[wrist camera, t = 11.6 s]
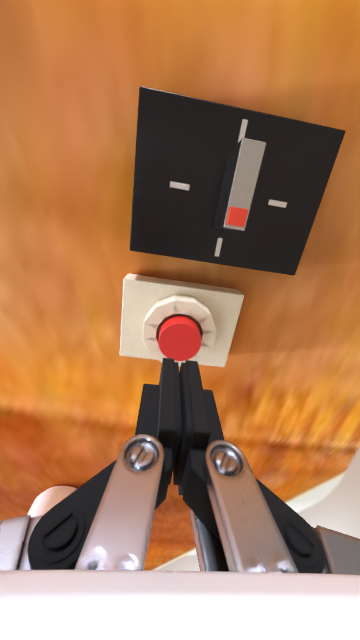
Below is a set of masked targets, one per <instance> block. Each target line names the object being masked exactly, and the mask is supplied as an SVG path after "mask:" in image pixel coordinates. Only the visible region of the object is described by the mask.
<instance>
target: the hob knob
mask: <svg viewBox="0 0 360 640" xmlns="http://www.w3.org/2000/svg"><path fill="white" fill-rule="evenodd" d="M265 146H266V142H262V141H257V140H252V139H247V138H242V139H241V140H240V141H239V143H238V144H237V145H236V146H235V148H234V149H233V150H232V151H231V153H230V154H229V155H228V157H227V161H226V166H225V172H224V177H223V182H222V187H221V192H220V197H219V202H218V207H217V212H216V217H215V223H214V227H216V228H222V229H228V230H238V231H244V230H245V227H246V223H247V219H248V215H249V211H250V207H251V203H252V199H253V195H254V191H255V187H256V183H257V179H258V174H259V170H260V166H261V162H262V158H263V154H264V150H265Z"/></svg>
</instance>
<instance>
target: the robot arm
mask: <svg viewBox="0 0 360 640" xmlns="http://www.w3.org/2000/svg"><path fill="white" fill-rule="evenodd" d="M172 473H173V481H174V485H178V490H179V495H183V500H184V501H185V503H186V504H187V505H188V506H189V507H190V508H189V509H190V519H191V524H192V529H193V535H194V540H195V546H196V551H197V556H198V562H199V567H200V571H143V569H144V564H145V558H146V553H147V548H148V542H149V537H150V531H151V526H152V520H153V515H154V511H155V509H156V508H157V507H158V506H159V505H160V504H161V503H162V502H163V501H164V500H165V498H166V494H167V489H168V484H169V485H170V482H171V477H172ZM0 640H360V539H358V538H355V537H352V536H349V535H346V534H343V533H340V532H337V531H333V530H330V529H327V528H324V527H321V526H317V527H316V528H313V527H311V526H310V525H309V524H308V523H307V522H306V521H305V520H304V519H303V518H302V517H301V516H299V515H298V514H297V513H296V512H295V511H294V510H293V509H291V508H290V507H289V506H288V505H287V504H286V503H284V502H283V501H282V500H281V499H280V498H279V497H277V496H276V495H275V494H274V493H273V492H272V491H270V490H269V489H268V488H267V487H266V486H265V485H263V484H262V483H261V482H260V481H259V480H258V479H256V478H255V476H254V474H253V472H252V470H251V467H250V465H249V463H248V461H247V459H246V457H245V455H244V454H243V452H242V451H241V450H240V449H239V448H238V447H237V446H236V445H235V444H233V443H231V442H229V441H226V440H224V437H223V432H222V428H221V424H220V420H219V416H218V412H217V408H216V404H215V399H214V395H213V392H212V391H211V390H204V389H203V387H202V382H201V377H200V371H199V366H198V362H197V361H191V360H186V361H185V363H181V367H180V372H179V365H178V362H174V359H173V358H163V361H162V367H161V374H160V381H159V385H152V384H144V385H143V391H142V397H141V403H140V409H139V415H138V421H137V427H136V433H135V436H133V437H131V438H129V439H128V440H127V441H126V442H125V443H124V444H123V446H122V448H121V450H120V452H119V455H118V458H117V460H115V461H114V462H113V463H111V464H110V465H109V466H107V467H106V468H105V469H103V470H102V471H101V472H99V473H98V474H97V475H95V476H94V477H93V478H91V479H90V480H89V481H87V482H86V483H85V484H83V485H82V486H80V487H79V488H78V489H76V490H75V491H74V492H72V493H71V494H70V495H68V496H67V497H66V498H64V499H63V500H62V501H60V502H59V503H58V504H56V505H55V506H54V507H52V508H51V509H50V510H49V511H48V512H46V513H45V514H44V515H41V516H36V517H32V518H31V516H30V515H25V516H21V517H16V518H11V519H7V520H2V521H0Z"/></svg>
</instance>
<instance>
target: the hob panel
mask: <svg viewBox="0 0 360 640" xmlns="http://www.w3.org/2000/svg"><path fill="white" fill-rule="evenodd" d="M344 134H345V131H344V130H339V129H335V128H330V127H326V126H321V125H316V124H312V123H307V122H303V121H298V120H293V119H289V118H284V117H279V116H275V115H270V114H266V113H261V112H256V111H252V110H247V109H243V108H238V107H233V106H229V105H224V104H220V103H215V102H210V101H206V100H201V99H197V98H192V97H187V96H183V95H178V94H174V93H169V92H164V91H160V90H155V89H150V88H146V87H141V86H140V89H139V105H138V122H137V138H136V154H135V171H134V187H133V203H132V220H131V236H130V250H131V251H137V252H144V253H150V254H157V255H163V256H170V257H177V258H183V259H190V260H196V261H203V262H209V263H216V264H222V265H229V266H235V267H242V268H249V269H255V270H262V271H268V272H275V273H281V274H288V275H295V273H296V270H297V267H298V264H299V261H300V259H301V256H302V253H303V250H304V247H305V244H306V242H307V239H308V236H309V233H310V230H311V227H312V225H313V222H314V219H315V216H316V213H317V210H318V208H319V205H320V202H321V199H322V196H323V193H324V191H325V188H326V185H327V182H328V179H329V176H330V174H331V171H332V168H333V165H334V162H335V159H336V157H337V154H338V151H339V148H340V145H341V142H342V140H343V137H344ZM242 138H247V139H252V140H257V141H262V142H266V146H265V150H264V154H263V158H262V162H261V166H260V170H259V174H258V179H257V183H256V187H255V191H254V195H253V199H252V203H251V207H250V211H249V215H248V219H247V223H246V227H245V230H244V231H238V230H228V229H222V228H216V227H214V223H215V217H216V212H217V207H218V202H219V197H220V192H221V187H222V182H223V177H224V172H225V166H226V161H227V157H228V155H229V154H230V153H231V151H232V150H233V149H234V148H235V146H236V145H237V144H238V143H239V141H240V140H241V139H242Z"/></svg>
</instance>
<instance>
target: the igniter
mask: <svg viewBox="0 0 360 640" xmlns="http://www.w3.org/2000/svg"><path fill="white" fill-rule="evenodd" d="M243 299H244V295H243V294H242V293H241V292H240V291H239V290H238V289H233V288H226V287H220V286H213V285H206V284H199V283H192V282H185V281H178V280H171V279H164V278H157V277H150V276H143V275H136V274H128V275H127V276H126V277H125V278H124V283H123V301H122V320H121V339H120V356H129V357H138V358H146V359H155V360H159V361H160V362H162V361H163V358H167V357H166V356H164V355H163V353H162V352H161V351H160V348H159V345H158V340H159V332H160V328H161V326H162V324H163V323H164V322H165V321H166V320H167V319H168V318H170V317H173V316H178V315H181V316H186V317H189V318H191V319H192V320H193V321H194V322H195V323H196V324H197V326H198V328H199V332H200V336H201V347H200V350H199V351H198V353H197V354H196V355H195V356H194V357H192V358H190V359H188V360H191V361H197V362H198V364H200V365H209V366H218V367H225V364H226V361H227V357H228V353H229V350H230V346H231V342H232V339H233V335H234V331H235V328H236V324H237V321H238V317H239V313H240V310H241V306H242V302H243ZM185 361H186V360H185ZM185 361H174V362H178V365H179V366H181V363H185Z"/></svg>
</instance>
